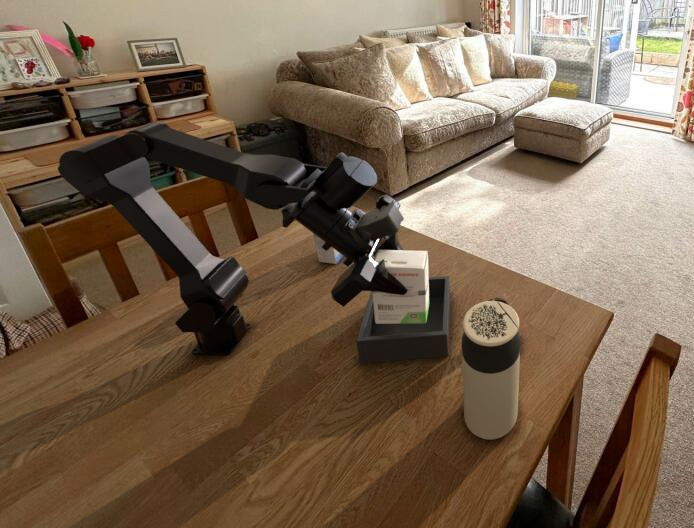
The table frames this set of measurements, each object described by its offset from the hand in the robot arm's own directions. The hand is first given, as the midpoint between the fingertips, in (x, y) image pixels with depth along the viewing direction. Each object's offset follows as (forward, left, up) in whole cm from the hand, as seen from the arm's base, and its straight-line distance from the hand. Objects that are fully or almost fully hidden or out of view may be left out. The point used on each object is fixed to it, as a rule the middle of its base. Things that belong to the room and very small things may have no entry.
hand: (409, 281), depth 67 cm
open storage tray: (-2, +3, -13) cm, 14 cm away
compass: (+16, 0, -13) cm, 21 cm away
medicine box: (-24, +24, -13) cm, 37 cm away
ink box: (-2, 0, -7) cm, 7 cm away
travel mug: (+14, -13, -13) cm, 23 cm away
